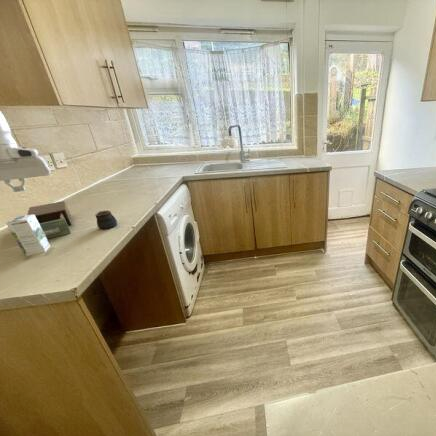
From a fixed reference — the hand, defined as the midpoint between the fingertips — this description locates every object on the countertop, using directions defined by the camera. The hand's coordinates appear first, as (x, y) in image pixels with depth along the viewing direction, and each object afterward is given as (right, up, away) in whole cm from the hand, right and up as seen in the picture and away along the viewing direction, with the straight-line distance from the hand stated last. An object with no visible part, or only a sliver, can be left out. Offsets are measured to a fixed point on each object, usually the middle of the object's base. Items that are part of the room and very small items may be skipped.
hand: (20, 191), depth 90 cm
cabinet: (-12, -13, +26) cm, 32 cm away
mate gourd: (+18, -15, +21) cm, 31 cm away
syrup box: (+4, -23, +3) cm, 24 cm away
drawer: (-3, -17, +16) cm, 23 cm away
